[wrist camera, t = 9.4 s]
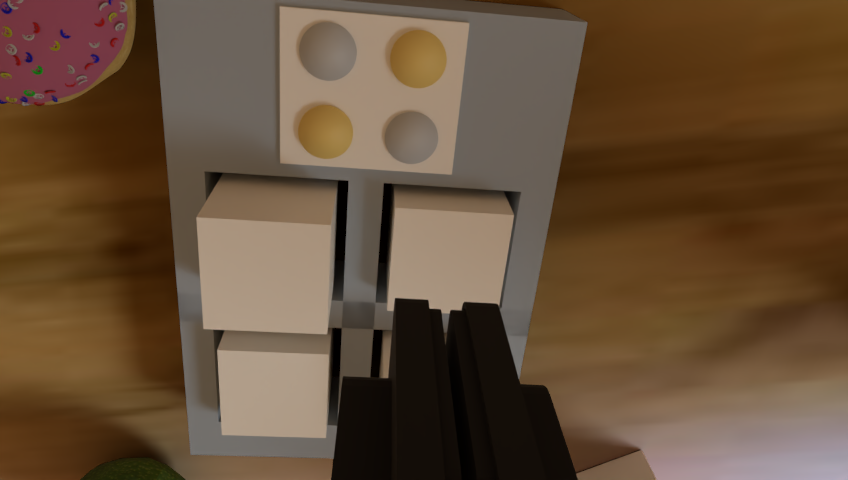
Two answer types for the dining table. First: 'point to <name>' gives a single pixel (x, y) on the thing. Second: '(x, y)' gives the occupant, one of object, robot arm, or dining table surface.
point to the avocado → (133, 470)
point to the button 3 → (447, 245)
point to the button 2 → (275, 383)
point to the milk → (621, 469)
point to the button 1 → (268, 253)
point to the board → (359, 145)
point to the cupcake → (61, 47)
